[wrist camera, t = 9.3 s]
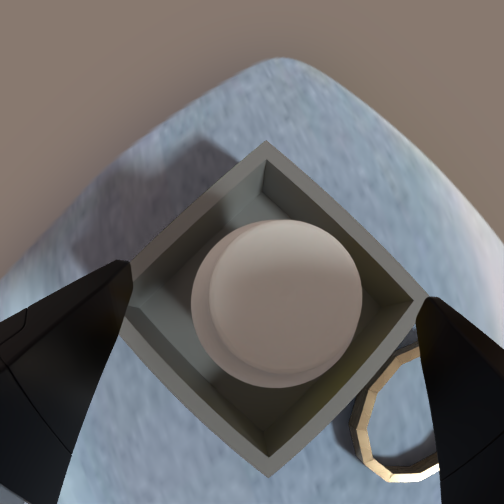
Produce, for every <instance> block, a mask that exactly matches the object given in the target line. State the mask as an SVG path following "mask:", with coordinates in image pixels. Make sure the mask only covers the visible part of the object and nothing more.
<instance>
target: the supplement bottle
mask: <svg viewBox="0 0 504 504" xmlns="http://www.w3.org/2000/svg"><path fill="white" fill-rule="evenodd" d="M361 308H362V286H361V280H360V276H359V273H358V270H357V268H356V266H355V263H354V261H353V259H352V258H351V256H350V254H349V253H348V252H347V250H346V249H345V248H344V247H343V245H342V244H341V243H340V242H339V241H338V240H337V239H336V238H334V237H333V236H332V235H330V234H329V233H328V232H326V231H324V230H322V229H321V228H319V227H317V226H314V225H312V224H309V223H305V222H302V221H296V220H266V221H259V222H255V223H251V224H248V225H245V226H243V227H240V228H238V229H236V230H234V231H233V232H231V233H229V234H228V235H227V236H225V237H224V238H223V239H221V240H220V241H219V242H218V243H217V244H216V245H215V246H214V247H213V248H212V249H211V250H210V252H209V253H208V254H207V256H206V257H205V259H204V260H203V262H202V264H201V265H200V267H199V269H198V272H197V274H196V277H195V280H194V283H193V288H192V295H191V312H192V319H193V324H194V328H195V330H196V334H197V336H198V338H199V340H200V343H201V345H202V346H203V348H204V349H205V351H206V352H207V354H208V355H209V356H210V357H211V358H212V360H213V361H214V362H215V363H216V364H217V365H218V366H219V367H220V368H222V369H223V370H224V371H225V372H227V373H228V374H230V375H231V376H233V377H235V378H237V379H239V380H241V381H243V382H245V383H248V384H251V385H255V386H260V387H267V388H285V387H291V386H296V385H300V384H303V383H306V382H308V381H311V380H313V379H315V378H317V377H318V376H320V375H322V374H323V373H324V372H326V371H327V370H328V369H330V368H331V367H332V366H333V365H334V364H335V363H336V362H337V361H338V360H339V359H340V358H341V356H342V355H343V354H344V352H345V351H346V349H347V348H348V346H349V344H350V342H351V341H352V339H353V336H354V334H355V331H356V328H357V324H358V321H359V318H360V314H361Z"/></svg>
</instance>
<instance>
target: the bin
mask: <svg viewBox="0 0 504 504" xmlns="http://www.w3.org/2000/svg"><path fill="white" fill-rule="evenodd" d="M266 220H296V221H302V222H305V223H309V224H312V225H314V226H317V227H319V228H321V229H322V230H324V231H326V232H328V233H329V234H330V235H332V236H333V237H334V238H336V239H337V240H338V241H339V242H340V243H341V244H342V245H343V247H344V248H345V249H346V250H347V252H348V253H349V254H350V256H351V258H352V259H353V261H354V263H355V266H356V268H357V270H358V273H359V276H360V280H361V286H362V308H361V314H360V318H359V321H358V324H357V328H356V331H355V334H354V336H353V339H352V341H351V342H350V344H349V346H348V348H347V349H346V351H345V352H344V354H343V355H342V356H341V358H340V359H339V360H338V361H337V362H336V363H335V364H334V365H333V366H332V367H331V368H330V369H328V370H327V371H326V372H324V373H323V374H322V375H320V376H318V377H317V378H315V379H313V380H311V381H308V382H306V383H303V384H300V385H296V386H291V387H285V388H267V387H260V386H255V385H251V384H248V383H245V382H243V381H241V380H239V379H237V378H235V377H233V376H231V375H230V374H228V373H227V372H225V371H224V370H223V369H222V368H220V367H219V366H218V365H217V364H216V363H215V362H214V361H213V360H212V358H211V357H210V356H209V355H208V354H207V352H206V351H205V349H204V348H203V346H202V345H201V343H200V340H199V338H198V336H197V334H196V330H195V328H194V324H193V319H192V312H191V295H192V288H193V283H194V280H195V277H196V274H197V272H198V269H199V267H200V265H201V264H202V262H203V260H204V259H205V257H206V256H207V254H208V253H209V252H210V250H211V249H212V248H213V247H214V246H215V245H216V244H217V243H218V242H219V241H220V240H221V239H223V238H224V237H225V236H227V235H228V234H229V233H231V232H233V231H234V230H236V229H238V228H240V227H243V226H245V225H248V224H251V223H255V222H259V221H266ZM130 265H131V271H132V278H133V292H132V295H131V298H130V301H129V304H128V307H127V310H126V313H125V316H124V320H123V323H122V326H121V329H120V332H119V335H120V336H121V338H122V339H123V340H124V341H125V342H126V344H127V345H128V346H129V347H130V348H131V349H132V350H133V352H134V353H135V354H136V355H137V356H138V357H139V358H140V360H141V361H142V362H143V363H144V364H145V365H146V366H147V367H148V368H149V369H150V371H151V372H152V373H153V374H154V375H155V376H156V377H157V378H158V379H159V380H160V381H161V382H162V383H163V384H164V385H165V386H166V387H167V389H168V390H169V391H170V392H171V393H172V394H173V395H174V396H175V397H176V398H177V399H178V400H179V401H180V402H181V403H182V404H183V405H184V406H185V407H186V408H188V409H189V410H190V411H191V412H192V413H193V414H194V415H195V416H196V417H197V418H198V419H199V420H200V421H201V422H202V423H203V424H204V425H206V426H207V427H208V428H209V429H210V430H211V431H212V432H213V433H214V434H215V435H217V436H218V437H219V438H220V439H221V440H222V441H223V442H225V443H226V444H227V445H228V446H229V447H230V448H232V449H233V450H234V451H235V452H236V453H237V454H239V455H240V456H241V457H242V458H243V459H245V460H246V461H247V462H248V463H250V464H251V465H252V466H253V467H255V468H256V469H257V470H258V471H260V472H261V473H262V474H264V475H265V476H266V477H268V478H269V477H271V476H272V475H273V474H274V473H275V472H277V471H278V470H279V469H280V468H281V467H283V466H284V465H285V464H286V463H287V462H288V461H290V460H291V459H292V458H293V457H294V456H295V455H296V454H297V453H299V452H300V451H301V450H302V449H303V448H304V447H305V446H306V445H307V444H308V443H309V442H311V441H312V440H313V439H314V438H315V437H316V436H317V435H318V434H319V433H320V432H321V431H322V430H323V429H324V428H325V427H326V426H327V425H328V424H329V423H330V422H331V421H332V420H333V419H334V418H335V417H336V416H337V415H338V414H339V413H340V412H341V411H342V410H343V409H344V408H345V407H346V406H347V405H348V404H349V403H350V401H351V400H352V399H353V398H354V397H355V396H356V395H357V394H358V393H359V392H360V391H361V389H362V388H363V387H364V386H365V385H366V384H367V383H368V382H369V380H370V379H371V378H372V377H373V376H374V375H375V374H376V372H377V371H378V370H379V369H380V368H381V366H382V365H383V364H384V363H385V362H386V360H387V359H388V358H389V357H390V356H391V354H392V353H393V352H394V351H395V349H396V348H397V347H398V345H399V344H400V343H401V342H402V340H403V339H404V338H405V336H406V335H407V334H408V333H409V331H410V330H411V329H412V327H413V326H414V324H415V323H416V317H417V314H418V312H419V310H420V308H421V306H422V304H423V302H424V300H425V299H426V298H427V297H429V295H428V294H427V293H426V292H425V291H424V289H423V288H422V287H421V286H420V285H419V284H418V283H417V282H416V281H415V280H414V279H413V277H412V276H411V275H410V274H409V273H408V272H407V271H406V270H405V269H404V268H403V267H402V266H401V265H400V264H399V263H398V262H397V261H396V260H395V259H394V257H393V256H392V255H391V254H390V253H389V252H388V251H387V250H386V249H385V248H384V247H383V246H382V245H381V244H380V243H379V242H378V241H377V240H376V239H375V238H374V237H373V236H372V235H371V234H370V233H369V232H368V231H367V230H366V229H365V228H364V227H363V226H362V225H361V224H360V223H358V222H357V221H356V220H355V219H354V218H353V217H352V216H351V215H350V214H349V213H348V212H347V211H346V210H345V209H344V208H343V207H342V206H341V205H340V204H338V203H337V202H336V201H335V200H334V199H333V198H332V197H331V196H330V195H329V194H328V193H327V192H325V191H324V190H323V189H322V188H321V187H320V186H319V185H318V184H317V183H315V182H314V181H313V180H312V179H311V178H310V177H309V176H308V175H306V174H305V173H304V172H303V171H302V170H301V169H300V168H298V167H297V166H296V165H295V164H294V163H293V162H291V161H290V160H289V159H288V158H287V157H286V156H284V155H283V154H282V153H281V152H280V151H278V150H277V149H276V148H275V147H274V146H272V145H271V144H270V143H269V142H268V141H264V142H263V143H262V144H261V145H260V146H258V147H257V148H256V149H255V150H253V151H252V152H251V153H250V154H249V155H247V156H246V157H245V158H244V159H243V160H242V161H240V162H239V163H238V164H237V165H236V166H234V167H233V168H232V169H231V170H230V171H229V172H227V173H226V174H225V175H224V176H223V177H222V178H220V179H219V180H218V181H217V182H216V183H215V184H214V185H212V186H211V187H210V188H209V189H208V190H207V191H206V192H204V193H203V194H202V195H201V196H200V197H199V198H198V199H197V200H195V201H194V202H193V203H192V204H191V205H190V206H189V207H188V208H187V209H186V210H184V211H183V212H182V213H181V214H180V215H179V216H178V217H177V218H176V219H175V220H174V221H172V222H171V223H170V224H169V225H168V226H167V227H166V228H165V229H164V230H163V231H162V232H161V233H160V234H159V235H158V236H156V237H155V238H154V239H153V240H152V241H151V242H150V243H149V244H148V245H147V246H146V247H145V248H144V249H143V250H142V251H141V252H140V253H139V254H138V255H137V256H136V257H135V258H134V259H133V260H132V261H131V262H130Z"/></svg>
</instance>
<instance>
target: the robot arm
mask: <svg viewBox="0 0 504 504" xmlns="http://www.w3.org/2000/svg"><path fill="white" fill-rule="evenodd" d="M132 292H133V278H132V271H131V265H130V263H129V262H128V261H124V260H115V261H113V262H111V263H109V264H107V265H105V266H103V267H101V268H99V269H97V270H95V271H93V272H92V273H90V274H88V275H86V276H84V277H82V278H80V279H78V280H76V281H74V282H73V283H71V284H69V285H67V286H65V287H63V288H61V289H60V290H58V291H56V292H54V293H52V294H50V295H49V296H47V297H45V298H43V299H41V300H39V301H38V302H36V303H34V304H32V305H30V306H29V307H28V309H27V308H25V309H23V310H22V311H20V312H18V313H16V314H15V315H13V316H11V317H9V318H7V319H5V320H4V321H2V322H0V504H24V501H25V502H26V503H28V504H57V502H58V498H59V495H60V491H61V488H62V485H63V481H64V478H65V475H66V472H67V469H68V466H69V463H70V459H71V456H72V455H71V454H72V453H73V450H74V447H75V444H76V441H77V438H78V435H79V433H80V430H81V427H82V424H83V422H84V419H85V416H86V413H87V411H88V408H89V405H90V403H91V400H92V398H93V395H94V393H95V390H96V387H97V385H98V382H99V380H100V377H101V375H102V373H103V370H104V368H105V365H106V363H107V361H108V358H109V356H110V353H111V351H112V349H113V346H114V344H115V342H116V340H117V337H118V335H119V332H120V329H121V326H122V323H123V320H124V316H125V313H126V310H127V307H128V304H129V301H130V298H131V295H132ZM416 329H417V336H418V343H419V350H420V358H421V365H422V370H423V374H424V379H425V384H426V389H427V394H428V399H429V404H430V410H431V416H432V422H433V428H434V434H435V441H436V449H437V457H438V465H439V475H440V481H441V482H440V488H441V502H442V504H504V349H503V348H501V347H500V346H499V345H498V344H497V343H495V342H494V341H493V340H492V339H491V338H489V337H488V336H487V335H486V334H485V333H483V332H482V331H481V330H480V329H478V328H477V327H476V326H475V325H473V324H472V323H471V322H470V321H468V320H467V319H466V318H465V317H463V316H462V315H461V314H460V313H458V312H457V311H456V310H454V309H453V308H452V307H451V306H449V305H448V304H447V303H445V302H444V301H443V300H441V299H440V298H438V297H430V296H429V297H427V298H426V299H425V300H424V302H423V304H422V306H421V308H420V310H419V312H418V314H417V317H416Z"/></svg>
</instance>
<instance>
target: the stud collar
mask: <svg viewBox="0 0 504 504" xmlns="http://www.w3.org/2000/svg"><path fill="white" fill-rule="evenodd" d="M419 356H420V350H419V343H418V341H417V342H415V343H413V344H410V345H408V346H406V347H403V348H401V349H399V350H396V351H394V352H393V353H392V354H391V356H390V357H389V358H388V359H387V360H386V362H385V363H384V364H383V365H382V366H381V368H380V369H379V370H378V371H377V372H376V374H375V375H374V376H373V377H372V378H371V379H370V380H369V382H368V383H367V384H366V385H365V386H364V387H363V388H362V389H361V391H360V392H359V393H358V394H357V397H356V400H355V404H354V407H353V410H352V413H351V417H350V420H349V428H350V432H351V436H352V441H353V445H354V449H355V454H356V456H357V457H358V458H359V459H360V460H361V461H362V462H363V464H365V465H366V466H367V467H368V468H370V469H371V470H372V471H374V472H375V473H376V474H377V475H379V476H380V477H381V478H383V479H384V480H385V481H387V482H416V481H420V480H422V479H424V478H426V477H428V476H430V475H431V474H433V473H435V472H437V471H438V470H439V465H438V457H437V452H436V453H434V454H432V455H430V456H429V457H427V458H425V459H423V460H421V461H419V462H417V463H415V464H413V465H412V466H383V465H382V464H381V463H379V462H378V461H377V460H376V459H374V458H373V457H372V452H371V447H370V442H369V437H368V433H367V426H368V423H369V419H370V416H371V413H372V410H373V406H374V403H375V399H376V396H377V393H378V392H379V391H380V390H381V389H382V387H383V386H384V385H385V384H386V383H387V382H388V380H389V379H390V378H391V377H392V376H393V374H394V373H395V372H396V371H397V369H398V368H399V367H400V366H401V365H402V364H404V363H406V362H409V361H411V360H413V359H415V358H417V357H419Z"/></svg>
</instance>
